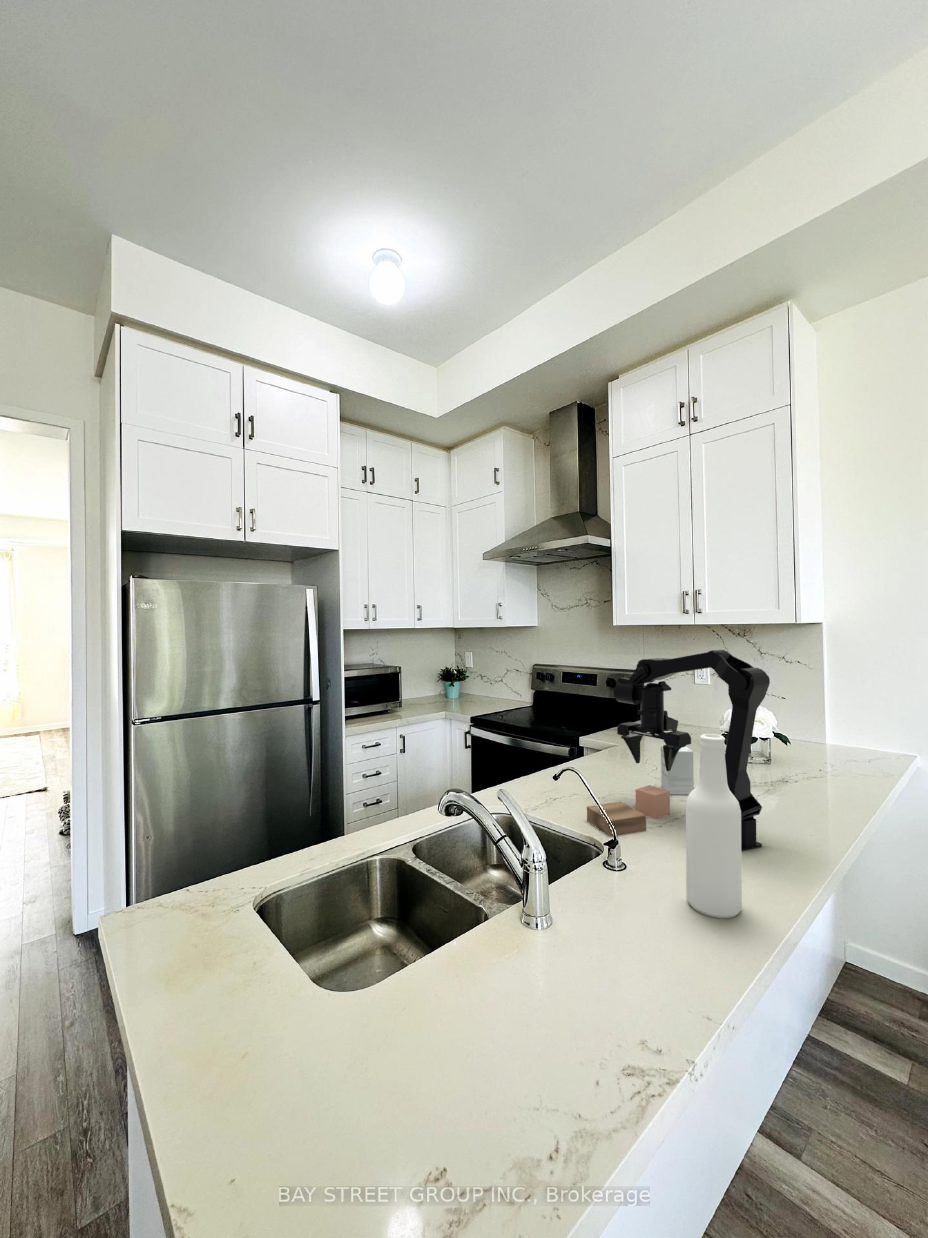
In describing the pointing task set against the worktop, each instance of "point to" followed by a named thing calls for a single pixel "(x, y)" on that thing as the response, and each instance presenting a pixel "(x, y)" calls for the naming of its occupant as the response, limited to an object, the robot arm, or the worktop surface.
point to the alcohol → (713, 837)
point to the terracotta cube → (653, 801)
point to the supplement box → (678, 773)
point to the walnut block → (617, 818)
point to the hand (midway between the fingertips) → (652, 767)
